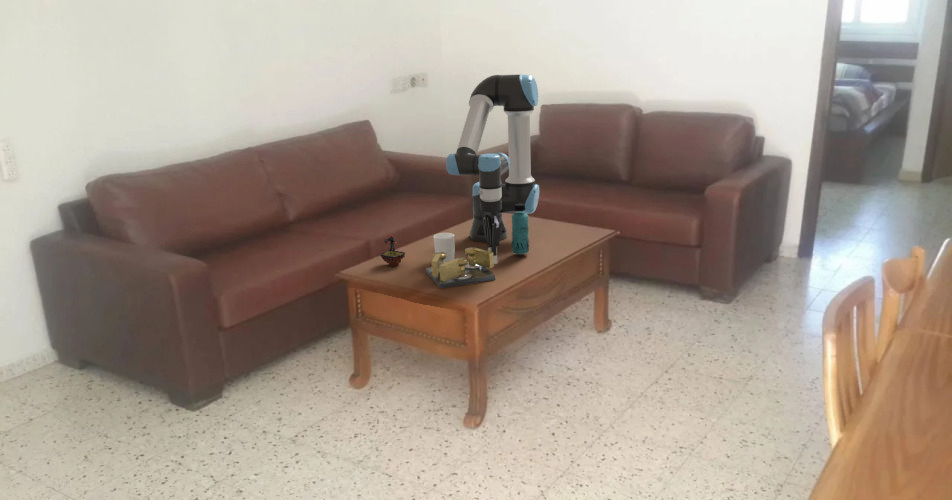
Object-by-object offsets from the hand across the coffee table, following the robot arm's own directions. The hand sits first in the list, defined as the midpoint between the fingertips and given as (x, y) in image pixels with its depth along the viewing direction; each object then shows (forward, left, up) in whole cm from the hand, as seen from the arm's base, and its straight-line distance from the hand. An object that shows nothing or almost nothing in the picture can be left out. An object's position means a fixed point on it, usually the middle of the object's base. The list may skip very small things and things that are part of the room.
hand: (493, 263), depth 280 cm
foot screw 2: (+16, +5, -1) cm, 17 cm away
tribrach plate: (+12, -1, -3) cm, 13 cm away
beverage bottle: (-16, -13, -4) cm, 21 cm away
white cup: (+12, -19, -4) cm, 23 cm away
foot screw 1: (+20, -2, -1) cm, 20 cm away
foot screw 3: (+4, -2, -1) cm, 5 cm away
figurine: (+31, -23, -4) cm, 39 cm away
